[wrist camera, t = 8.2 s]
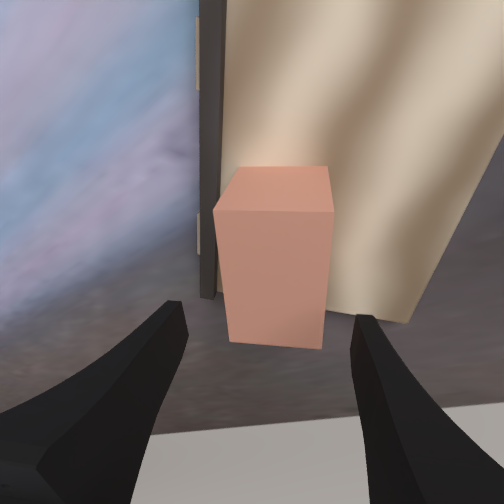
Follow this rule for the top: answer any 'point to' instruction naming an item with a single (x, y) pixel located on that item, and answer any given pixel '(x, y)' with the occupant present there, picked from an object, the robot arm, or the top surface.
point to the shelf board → (355, 126)
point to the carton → (275, 254)
